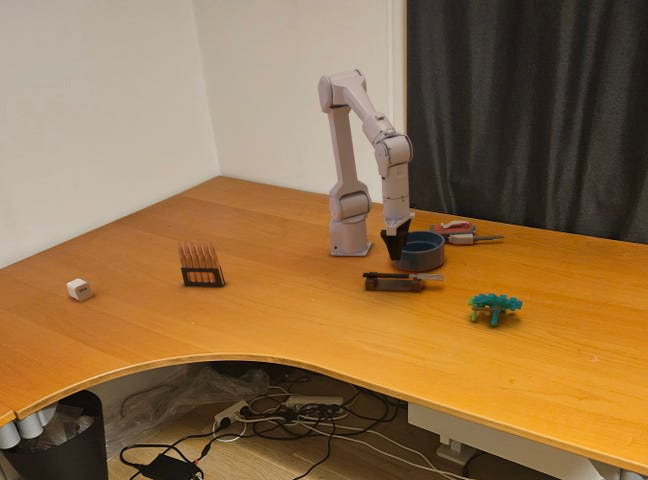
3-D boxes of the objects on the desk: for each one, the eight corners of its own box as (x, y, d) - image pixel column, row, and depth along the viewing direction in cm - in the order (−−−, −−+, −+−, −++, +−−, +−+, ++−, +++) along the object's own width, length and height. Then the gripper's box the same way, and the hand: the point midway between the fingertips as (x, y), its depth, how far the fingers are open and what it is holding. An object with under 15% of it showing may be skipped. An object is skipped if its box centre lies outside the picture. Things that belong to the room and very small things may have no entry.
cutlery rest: (365, 290, 145) (364, 281, 144) (370, 280, 149) (369, 271, 148) (420, 292, 142) (420, 283, 140) (423, 282, 146) (423, 273, 144)
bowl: (387, 272, 152) (386, 252, 149) (396, 249, 162) (395, 230, 159) (441, 274, 148) (441, 253, 145) (447, 250, 159) (447, 230, 155)
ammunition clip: (225, 283, 156) (215, 239, 149) (222, 287, 154) (212, 242, 148) (187, 282, 159) (176, 239, 152) (184, 285, 157) (172, 242, 150)
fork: (362, 278, 145) (361, 276, 145) (364, 274, 147) (364, 271, 147) (443, 281, 140) (443, 278, 140) (444, 276, 142) (444, 273, 142)
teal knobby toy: (528, 305, 129) (516, 290, 120) (524, 333, 128) (511, 320, 120) (477, 303, 135) (462, 289, 126) (473, 329, 134) (457, 317, 125)
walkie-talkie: (425, 247, 161) (504, 243, 158) (425, 232, 159) (505, 227, 156) (425, 234, 168) (500, 230, 166) (424, 219, 166) (501, 214, 163)
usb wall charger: (79, 302, 156) (73, 288, 153) (66, 295, 160) (60, 281, 157) (93, 295, 158) (88, 281, 156) (80, 288, 162) (75, 275, 160)
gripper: (408, 206, 126) (411, 267, 134) (419, 183, 138) (420, 239, 145) (374, 207, 128) (379, 266, 135) (388, 183, 139) (391, 239, 147)
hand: (398, 252), depth 140 cm, fingers open, 7 cm apart
